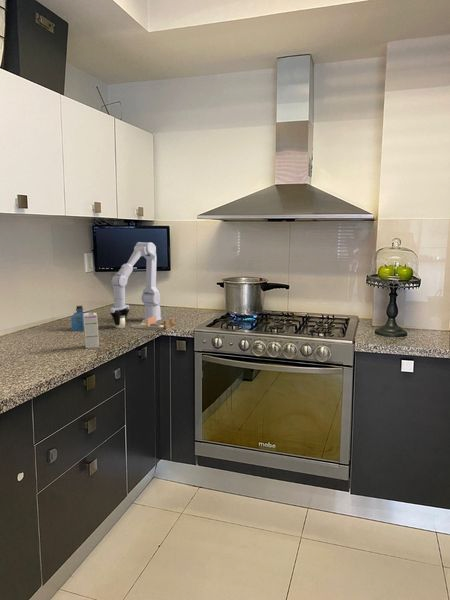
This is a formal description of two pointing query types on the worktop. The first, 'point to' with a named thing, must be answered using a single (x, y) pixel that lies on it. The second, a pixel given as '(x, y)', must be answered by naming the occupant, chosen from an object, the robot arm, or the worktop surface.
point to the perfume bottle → (78, 319)
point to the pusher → (152, 322)
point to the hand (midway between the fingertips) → (120, 324)
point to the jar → (121, 322)
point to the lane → (164, 326)
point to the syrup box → (90, 330)
